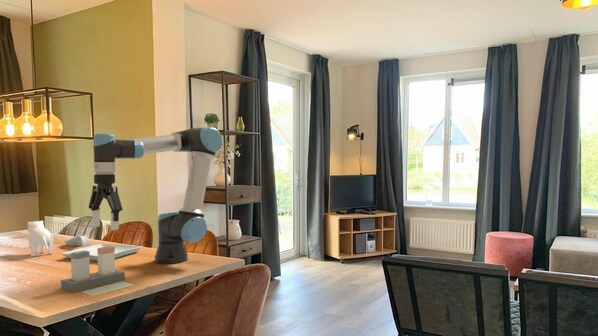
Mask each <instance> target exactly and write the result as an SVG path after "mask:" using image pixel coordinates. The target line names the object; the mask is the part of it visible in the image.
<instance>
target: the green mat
mask: <svg viewBox="0 0 598 336" xmlns="http://www.w3.org/2000/svg"><path fill="white" fill-rule="evenodd" d="M132 286H134V284H132V283H130V282H129V283H128V282H126V281H118V282H114V283H110V284H106V285H102V286H98V287H94V288H90V289H86V290H82V291H81V293H82V294H85V295H87V296H88V295H89V296H91V297H94V296H98V295H103V294H105V293H109V292H113V291H117V290H121V289H124V288H128V287H132Z"/></svg>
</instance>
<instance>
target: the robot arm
mask: <svg viewBox="0 0 598 336" xmlns="http://www.w3.org/2000/svg"><path fill="white" fill-rule="evenodd" d="M92 142H93V144H92V147H93V166H92V167H93V173H94V175H93V184H94V185H92V190H91V196H90V200H89V202H88V209H90V211H91V220H92V222H91V227H92V228H99V227H101V211H100V210H101V208H100V207H101V204H102V201H103V200H104V199H105V200H106V201H107V203H108V206H109V208H110V210H111V211H110V230H111V231H116V230H119V229H120V223H119V221H120V217H119V216H120V212H122V211H123V207H122V203H121V199H120V195H119V191H118V185H116V186H115V183H116V174H115V173H116V159H117V160H118V159H121V160H122V159H123V160H124V159H127V160H128V159H133V160H135V159H140V158H142V157H143V156H144V155H151V154H158V153H165V152H174V153H179V152H180V153H181V152H186V153H187V152H189V154H190V155H191V156H192V159H191V164H190V170H189V173H188V174H189V175H188V179H187V183H186V184H187V185H186V190H185V195H184V201H183V204H182V207H181V208H180V209H179V210H178V211H173V212H163V213H160V214H158V217H157V233H158V234H157V235H158V239H157V240H158V244H157V245H158V246H157V248H156V251H155V255H154V262H155V263H157V264H163V265H165V264H167V265H168V264H178V263H183V262H185V261H188V259H189V254H188V252H187V249H186V246H185V242H186V243H197V242H199V241H200V240H202V239H203V238H204V237H205V236H206V233H207V230H208V224H207V222H206V220H205V213H204V212H203V204H204V200H205V195H206V188H207V183H208V178H209V171H210V167H211V162H212V160H213V159H215V157H216V153H217V152H218V151H219V150H221V148H222V146H223V143H224V142H223V137H222V135H221V133H220V131H219V130H218V129H216V128H215V127H213V126H204V127H192V128H188V129H184V130H179V131H174V132H172V133H170V134H167V135H166V134H165V135H157V136H155V135H154V136H148V137H139V138H127V139H118V138H117V139H116V137H115V134H114V133H95V135H93V141H92ZM113 184H114V186H113Z"/></svg>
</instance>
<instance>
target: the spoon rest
mask: <svg viewBox="0 0 598 336" xmlns="http://www.w3.org/2000/svg"><path fill="white" fill-rule="evenodd" d="M63 242H64V243H65V244H66V245H67V246H69V247H72V246H73V248H74V247H81V248H83V247H88V246H92V245H91V242H90V240H89V238H88V237H87V235H86V234H84V235H82V236H81V235H78V236H73V237H72V238H69V239H65V240H64V241H63Z"/></svg>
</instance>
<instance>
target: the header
mask: <svg viewBox="0 0 598 336" xmlns="http://www.w3.org/2000/svg"><path fill="white" fill-rule="evenodd" d="M125 280H126V272H125V271H122V270H118V269H115V273H112V274H108V275H104V276H101V275H98V271H96V272H92V273H90V279H86V280H82V281H78V282H74V281H72V277H70V278H64V279H61V280H60V288H61V290H65V291H67V292H70V293H73V294H74V293H77V292H83V291H87V290H91V289H95V288H99V287H102V286H106V285H110V284H114V283H118V282H123V281H125Z"/></svg>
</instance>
